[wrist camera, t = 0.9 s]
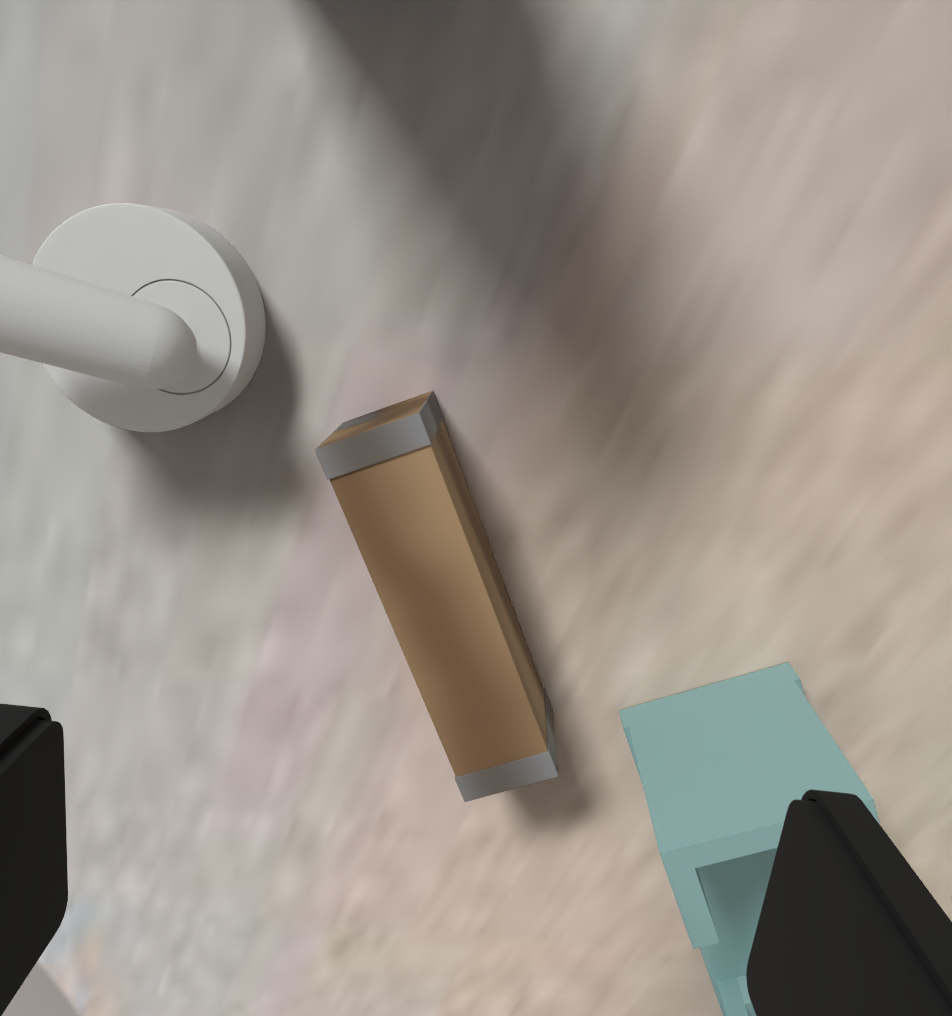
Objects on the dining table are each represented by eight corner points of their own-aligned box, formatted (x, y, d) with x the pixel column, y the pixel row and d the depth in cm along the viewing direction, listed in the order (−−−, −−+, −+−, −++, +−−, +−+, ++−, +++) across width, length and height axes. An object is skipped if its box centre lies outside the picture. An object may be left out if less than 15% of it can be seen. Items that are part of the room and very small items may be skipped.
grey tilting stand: (-140, 117, 22) (203, 254, 23) (51, 159, 31) (292, 256, 32) (-177, 402, 25) (132, 518, 25) (9, 364, 34) (233, 449, 34)
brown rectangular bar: (433, 390, 33) (419, 412, 28) (552, 709, 37) (558, 776, 33) (343, 422, 34) (314, 449, 29) (471, 732, 38) (464, 801, 33)
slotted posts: (788, 662, 36) (880, 796, 27) (877, 987, 41) (979, 1190, 32) (619, 710, 37) (652, 854, 28) (727, 1020, 43) (784, 1226, 34)
